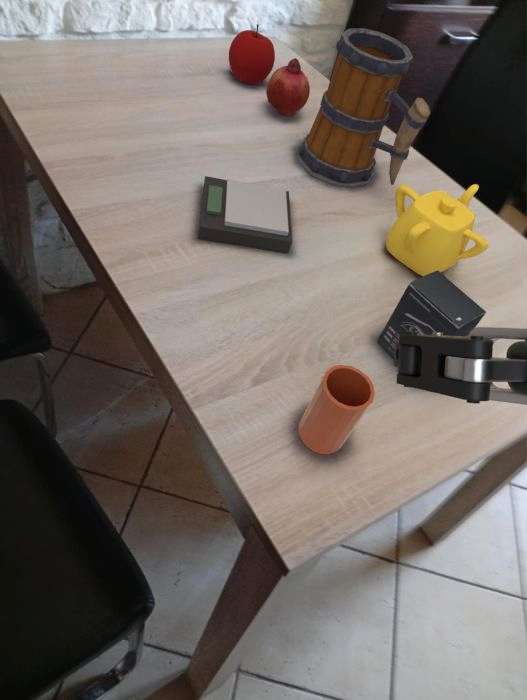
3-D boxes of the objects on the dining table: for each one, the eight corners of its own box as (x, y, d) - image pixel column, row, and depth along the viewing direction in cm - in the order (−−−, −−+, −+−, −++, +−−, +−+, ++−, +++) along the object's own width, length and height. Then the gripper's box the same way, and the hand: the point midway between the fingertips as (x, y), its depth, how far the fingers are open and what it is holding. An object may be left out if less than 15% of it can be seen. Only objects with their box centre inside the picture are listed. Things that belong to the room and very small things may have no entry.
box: (445, 368, 67) (490, 312, 59) (417, 385, 65) (460, 329, 56) (402, 326, 71) (439, 267, 62) (374, 340, 68) (409, 281, 60)
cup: (299, 452, 55) (325, 406, 48) (296, 410, 58) (320, 361, 52) (346, 456, 56) (378, 412, 49) (341, 415, 59) (370, 368, 52)
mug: (410, 186, 94) (466, 73, 79) (366, 213, 86) (420, 92, 70) (328, 132, 100) (366, 17, 85) (279, 153, 91) (312, 29, 76)
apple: (215, 74, 105) (223, 19, 97) (243, 64, 110) (252, 11, 103) (251, 95, 103) (262, 40, 95) (277, 84, 108) (290, 31, 101)
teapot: (375, 218, 85) (401, 162, 77) (448, 233, 87) (480, 180, 79) (384, 275, 77) (414, 219, 69) (465, 291, 78) (503, 238, 71)
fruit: (309, 115, 103) (325, 62, 95) (290, 129, 98) (305, 74, 90) (275, 97, 104) (287, 44, 96) (254, 110, 99) (265, 55, 91)
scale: (197, 238, 73) (200, 221, 71) (203, 188, 80) (205, 171, 78) (288, 253, 75) (293, 237, 73) (285, 203, 83) (290, 186, 80)
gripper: (948, 282, 18) (568, 297, 33) (598, 257, 14) (360, 287, 30) (924, 500, 18) (560, 413, 34) (578, 523, 15) (354, 415, 31)
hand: (466, 354), depth 32 cm, fingers open, 8 cm apart
